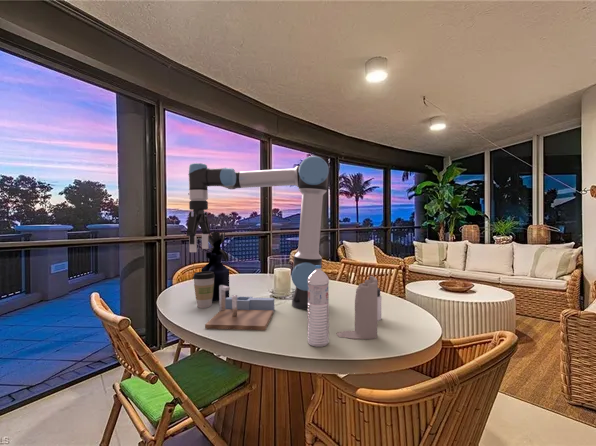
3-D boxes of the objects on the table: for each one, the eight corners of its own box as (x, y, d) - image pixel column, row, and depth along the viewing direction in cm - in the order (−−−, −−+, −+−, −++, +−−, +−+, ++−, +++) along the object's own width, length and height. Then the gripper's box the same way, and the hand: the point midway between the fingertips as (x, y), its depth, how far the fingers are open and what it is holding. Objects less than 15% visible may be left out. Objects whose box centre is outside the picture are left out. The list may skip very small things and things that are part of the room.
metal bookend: (335, 331, 114) (335, 274, 113) (374, 331, 113) (375, 275, 113) (337, 339, 106) (337, 278, 106) (379, 339, 106) (379, 279, 105)
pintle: (237, 318, 127) (237, 295, 127) (236, 320, 125) (236, 296, 125) (232, 318, 127) (232, 295, 127) (231, 320, 125) (231, 296, 125)
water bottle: (322, 349, 98) (322, 267, 97) (303, 344, 102) (303, 266, 101) (332, 341, 104) (332, 264, 103) (314, 337, 107) (314, 263, 107)
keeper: (229, 315, 131) (229, 287, 131) (225, 316, 130) (225, 287, 129) (223, 312, 135) (223, 284, 135) (219, 313, 134) (219, 285, 134)
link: (223, 312, 136) (223, 300, 136) (228, 307, 143) (228, 296, 143) (272, 313, 135) (272, 301, 134) (275, 308, 142) (274, 297, 141)
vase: (234, 300, 155) (233, 227, 155) (210, 303, 149) (210, 228, 148) (223, 294, 167) (222, 227, 166) (201, 297, 161) (200, 227, 160)
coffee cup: (209, 309, 140) (209, 275, 139) (188, 308, 142) (188, 274, 141) (219, 303, 149) (219, 271, 149) (199, 302, 151) (199, 270, 151)
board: (273, 313, 134) (273, 310, 134) (265, 330, 115) (265, 325, 115) (221, 312, 135) (221, 309, 135) (205, 328, 116) (205, 324, 116)
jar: (356, 320, 125) (357, 290, 124) (359, 314, 132) (359, 285, 132) (380, 323, 122) (380, 291, 122) (381, 316, 130) (381, 287, 129)
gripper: (200, 201, 149) (201, 247, 150) (176, 199, 124) (177, 253, 125) (216, 201, 149) (217, 247, 149) (195, 198, 124) (196, 253, 124)
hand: (199, 250), depth 137 cm, fingers open, 13 cm apart
